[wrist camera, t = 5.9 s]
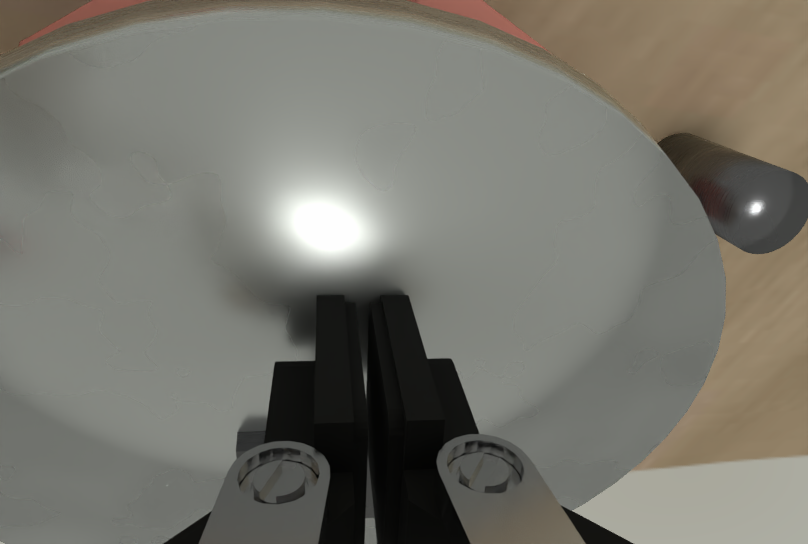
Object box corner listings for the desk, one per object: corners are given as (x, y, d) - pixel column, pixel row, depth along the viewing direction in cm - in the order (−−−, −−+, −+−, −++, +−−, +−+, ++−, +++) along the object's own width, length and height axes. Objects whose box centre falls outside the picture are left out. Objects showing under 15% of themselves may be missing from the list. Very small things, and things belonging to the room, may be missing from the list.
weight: (650, 132, 26) (743, 169, 20) (716, 134, 26) (823, 172, 21) (635, 201, 27) (719, 254, 21) (698, 201, 27) (795, 253, 22)
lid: (-431, -75, 8) (-625, -15, 6) (863, 14, 11) (962, 70, 9) (33, 562, 20) (10, 636, 19) (561, 523, 23) (580, 583, 22)
